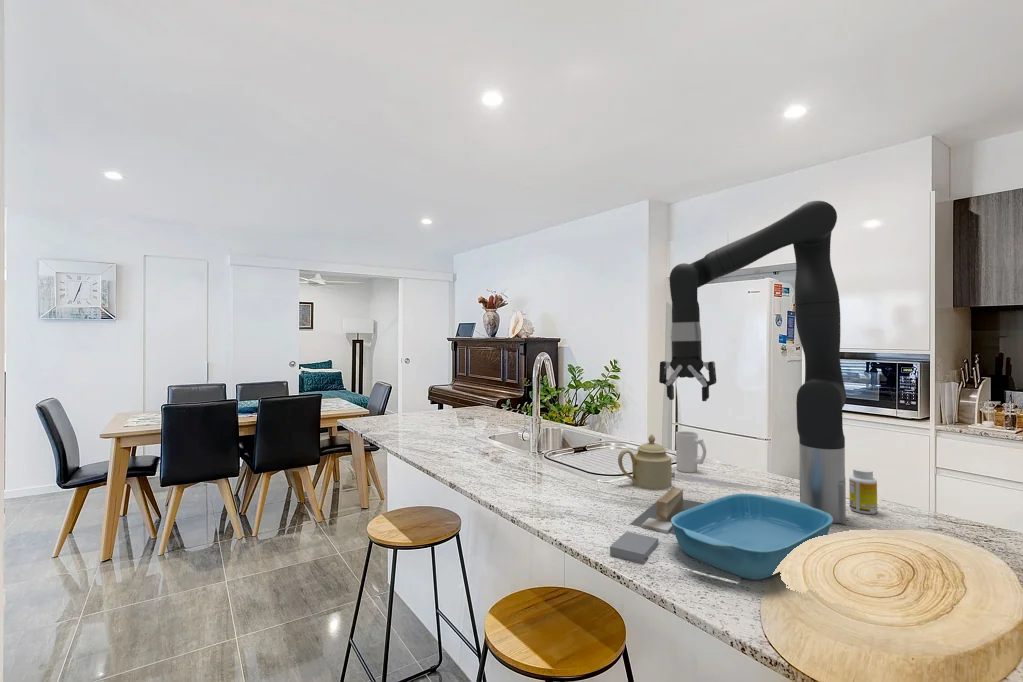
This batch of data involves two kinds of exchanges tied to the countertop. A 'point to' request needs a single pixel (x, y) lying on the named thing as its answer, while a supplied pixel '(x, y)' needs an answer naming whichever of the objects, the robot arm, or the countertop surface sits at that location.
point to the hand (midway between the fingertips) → (687, 400)
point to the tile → (634, 547)
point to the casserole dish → (748, 532)
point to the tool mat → (652, 513)
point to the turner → (666, 511)
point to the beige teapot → (649, 466)
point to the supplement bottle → (863, 491)
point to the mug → (688, 451)
